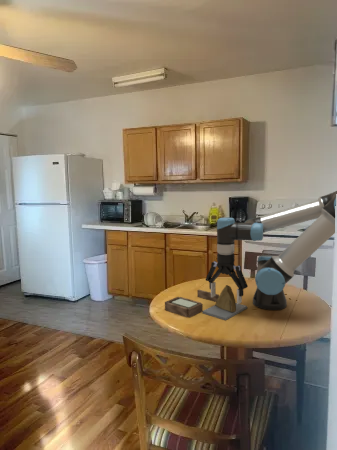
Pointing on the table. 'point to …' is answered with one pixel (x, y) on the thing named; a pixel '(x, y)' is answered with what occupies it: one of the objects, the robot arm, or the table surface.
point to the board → (223, 311)
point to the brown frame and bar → (192, 310)
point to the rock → (226, 300)
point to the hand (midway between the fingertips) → (225, 299)
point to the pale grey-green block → (184, 303)
